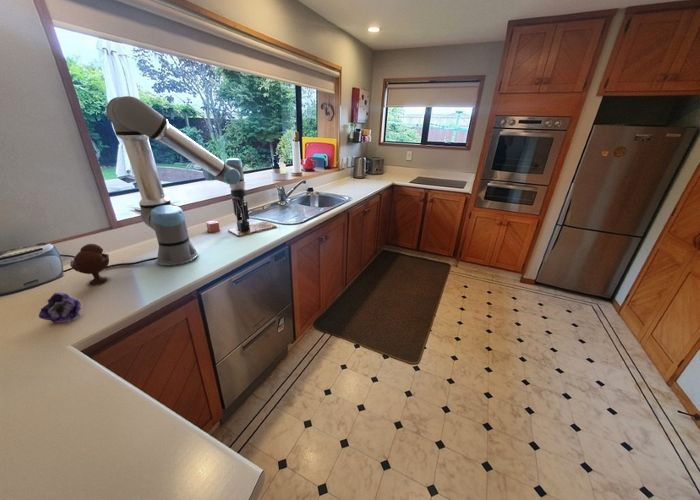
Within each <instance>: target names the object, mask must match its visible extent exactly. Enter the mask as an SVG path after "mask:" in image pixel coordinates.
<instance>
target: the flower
mask: <svg viewBox="0 0 700 500" xmlns="http://www.w3.org/2000/svg"><path fill="white" fill-rule="evenodd" d="M46 301H47V304H45V305H44V306H43V307H41V308H40V311H39V314H38V317H39V319H42V320H45V321H49V322H51V323H52V324H57V323H63V324H64V323H67V324H68V323H70V322H71V321H74V320H76V319H77V318H79V317H81V309H82V301H81V300H80V299H77V298H75V297H73V296H71V295H69V294H68V293H66V292H54V293H53V294H52V295H51V297H50V298H49V299H47V300H46Z"/></svg>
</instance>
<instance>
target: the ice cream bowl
mask: <svg viewBox="0 0 700 500" xmlns="http://www.w3.org/2000/svg"><path fill="white" fill-rule="evenodd" d="M103 252H104V249H103V248H102V247H101V246H100V245H98V244H96V243H87V244H85V245H83V246H82V247H80V249H79V252H78V253H77V254H76V255H75V256H74V257H73V260H71V261H70V263H69V266H70V267H71V268H72V270H74V271H75V272H78V273H81V274H86V275H92V276H93V278H92V279H91V280H89V283H88V285H89V286H93V287H94V286H100V285H103V284H105V283H107V282H108V277H105V276H101V275H100V272H102V271H104V270H105V269H104V268H106V267H107V266H109V263H110V256H109V254H107V253H103ZM106 269H107V268H106Z"/></svg>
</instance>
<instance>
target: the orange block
mask: <svg viewBox="0 0 700 500" xmlns="http://www.w3.org/2000/svg"><path fill="white" fill-rule="evenodd" d="M205 224H206V229H207V231H208V232H209V233H210V234H212V233H216V232H220V229H221V228H220V223H219V222H218V221H217V220H210V221H206V222H205Z"/></svg>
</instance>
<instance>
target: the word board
mask: <svg viewBox="0 0 700 500" xmlns="http://www.w3.org/2000/svg"><path fill="white" fill-rule="evenodd" d="M249 227H250V230H247V231H242V232H241V231H240V230H238V228H237V227H233V228H229V229H228V232H229V233H231V234H232V235H234V236H236V237H238V238H239V237H243V236H244V237H245V236H247V235H251V234H256V233H259V232H265V231H269V230H272V229H276V228H277V225H275V224H273V223H271V222H269V221H266V220H265V221H261V222H256V223H251V224H249Z"/></svg>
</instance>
